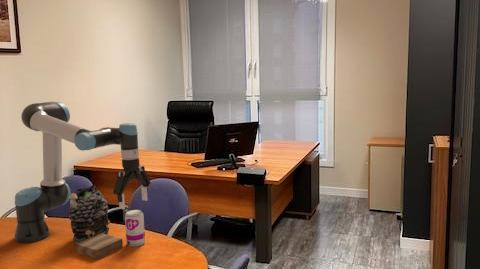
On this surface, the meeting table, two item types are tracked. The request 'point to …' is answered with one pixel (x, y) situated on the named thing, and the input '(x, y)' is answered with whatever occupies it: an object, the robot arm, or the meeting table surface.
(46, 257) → the meeting table surface
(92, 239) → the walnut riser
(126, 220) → the supplement can
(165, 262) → the meeting table surface
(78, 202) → the decorative house
